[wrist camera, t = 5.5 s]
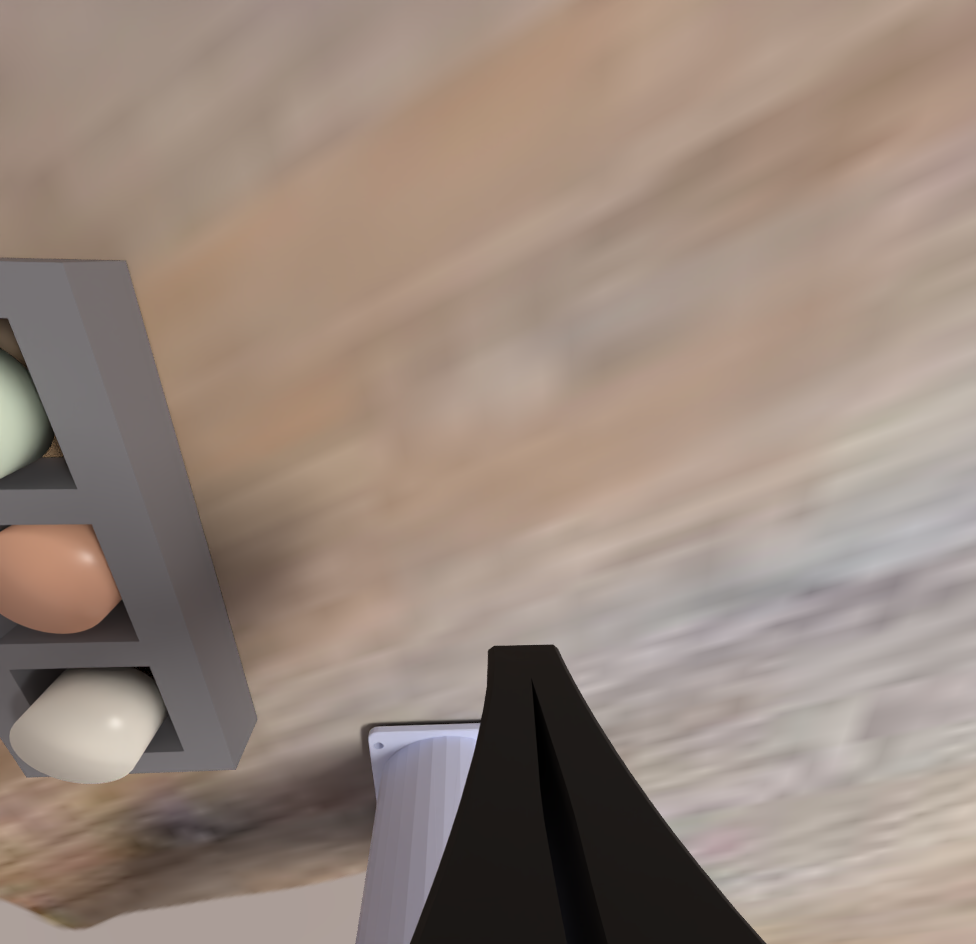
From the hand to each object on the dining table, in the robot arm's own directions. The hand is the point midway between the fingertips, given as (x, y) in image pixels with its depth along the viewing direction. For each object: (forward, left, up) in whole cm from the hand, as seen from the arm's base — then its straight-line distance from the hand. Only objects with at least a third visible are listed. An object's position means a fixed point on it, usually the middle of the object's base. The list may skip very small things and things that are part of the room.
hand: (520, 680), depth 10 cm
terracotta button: (-3, +16, -9) cm, 19 cm away
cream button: (-9, +16, -8) cm, 20 cm away
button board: (-3, +16, -9) cm, 19 cm away
